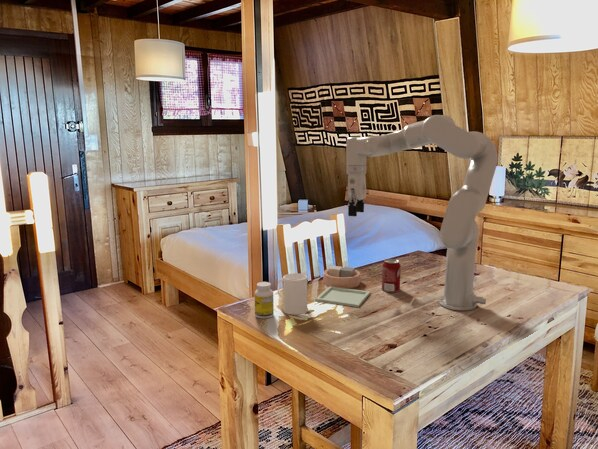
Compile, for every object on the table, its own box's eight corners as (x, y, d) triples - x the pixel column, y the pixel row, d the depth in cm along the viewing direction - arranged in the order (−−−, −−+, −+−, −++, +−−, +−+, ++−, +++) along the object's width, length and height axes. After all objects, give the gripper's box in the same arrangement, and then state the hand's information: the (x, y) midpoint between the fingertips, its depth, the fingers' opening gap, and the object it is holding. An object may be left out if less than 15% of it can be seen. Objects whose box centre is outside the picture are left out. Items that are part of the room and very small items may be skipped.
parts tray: (370, 294, 185) (370, 291, 184) (358, 308, 171) (358, 305, 171) (329, 289, 191) (329, 286, 191) (315, 302, 177) (315, 298, 177)
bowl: (364, 280, 201) (364, 269, 200) (353, 291, 188) (353, 280, 187) (330, 276, 207) (330, 265, 206) (318, 286, 194) (318, 275, 193)
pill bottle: (253, 313, 167) (252, 281, 165) (271, 311, 169) (270, 280, 166) (256, 320, 161) (256, 287, 159) (275, 318, 163) (275, 285, 161)
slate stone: (355, 281, 198) (355, 268, 196) (351, 284, 194) (351, 271, 193) (344, 280, 200) (344, 266, 198) (340, 283, 196) (340, 269, 194)
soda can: (394, 295, 184) (395, 264, 182) (378, 291, 188) (379, 261, 186) (402, 290, 190) (404, 260, 187) (386, 286, 194) (387, 257, 191)
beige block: (342, 280, 200) (343, 266, 198) (339, 283, 196) (339, 269, 194) (332, 278, 201) (332, 265, 200) (328, 281, 197) (328, 268, 196)
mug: (270, 308, 171) (270, 275, 169) (287, 301, 178) (287, 269, 175) (296, 317, 164) (296, 282, 161) (312, 309, 170) (313, 276, 168)
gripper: (359, 171, 179) (359, 218, 182) (371, 168, 195) (371, 211, 198) (339, 171, 182) (339, 217, 185) (353, 167, 198) (353, 210, 201)
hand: (356, 214), depth 192 cm, fingers open, 9 cm apart
